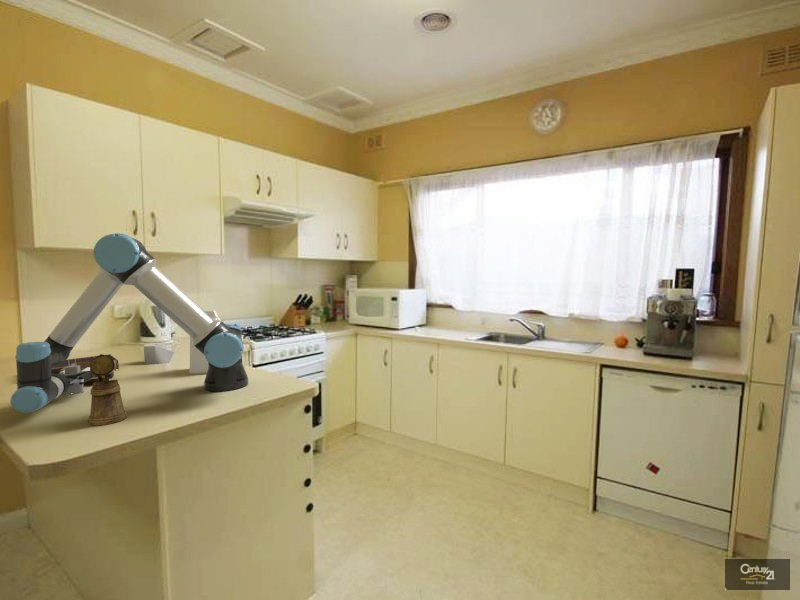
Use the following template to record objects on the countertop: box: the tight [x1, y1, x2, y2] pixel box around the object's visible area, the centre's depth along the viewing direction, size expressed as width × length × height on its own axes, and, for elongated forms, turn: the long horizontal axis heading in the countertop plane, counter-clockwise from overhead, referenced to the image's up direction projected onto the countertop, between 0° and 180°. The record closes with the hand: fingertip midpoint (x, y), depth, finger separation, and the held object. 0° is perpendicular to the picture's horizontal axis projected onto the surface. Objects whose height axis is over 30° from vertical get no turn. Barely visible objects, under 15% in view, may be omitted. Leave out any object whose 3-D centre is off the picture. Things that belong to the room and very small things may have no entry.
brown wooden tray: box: [51, 353, 120, 374], centre depth 181 cm, size 29×19×5 cm, turn 134°
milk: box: [189, 310, 221, 374], centre depth 180 cm, size 12×12×26 cm
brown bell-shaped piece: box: [88, 353, 128, 426], centre depth 121 cm, size 9×14×18 cm, turn 40°
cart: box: [60, 360, 117, 379], centre depth 163 cm, size 14×14×7 cm
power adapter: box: [63, 358, 85, 395], centre depth 148 cm, size 3×5×12 cm, turn 126°
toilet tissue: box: [143, 342, 175, 365], centre depth 200 cm, size 9×13×9 cm
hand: (78, 371), depth 153 cm, fingers closed on power adapter, 6 cm apart
